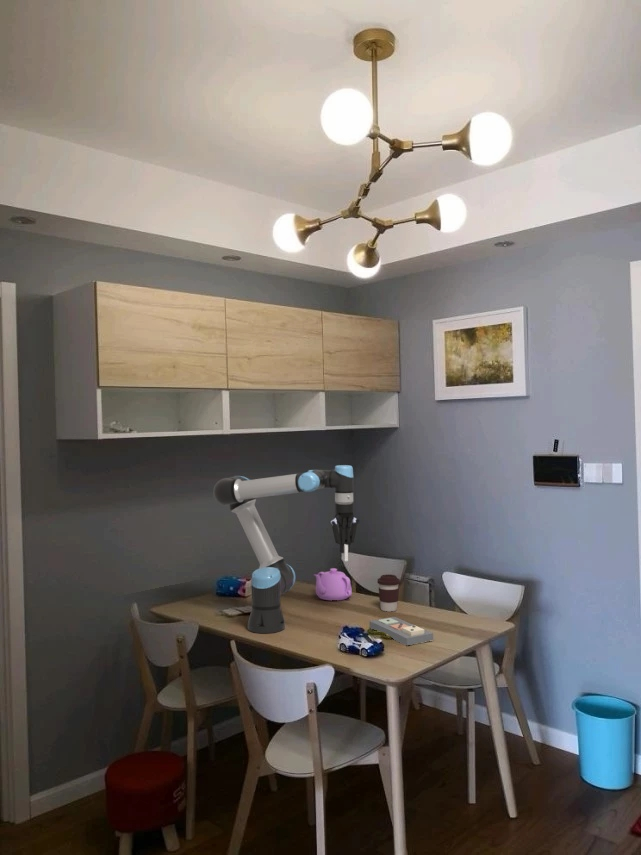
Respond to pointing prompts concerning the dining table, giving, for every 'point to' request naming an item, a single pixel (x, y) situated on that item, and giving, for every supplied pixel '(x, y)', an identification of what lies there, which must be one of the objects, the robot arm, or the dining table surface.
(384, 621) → the tile one
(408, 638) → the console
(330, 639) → the dining table surface
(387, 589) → the coffee cup
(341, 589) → the teapot
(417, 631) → the tile two
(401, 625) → the tile three
